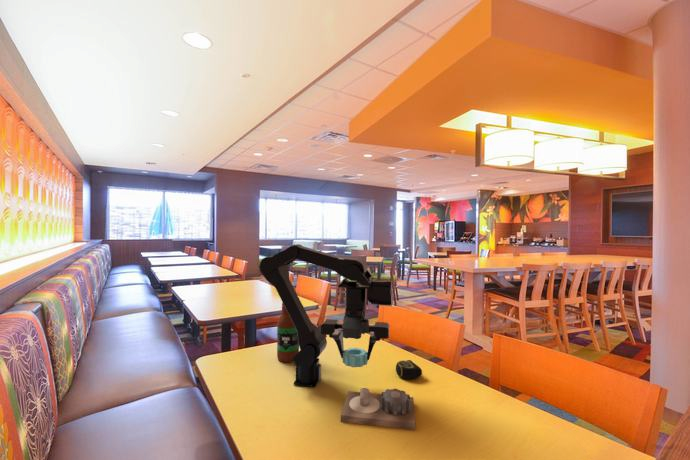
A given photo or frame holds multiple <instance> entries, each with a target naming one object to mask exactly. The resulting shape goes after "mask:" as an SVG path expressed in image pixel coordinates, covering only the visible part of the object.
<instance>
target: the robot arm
mask: <svg viewBox="0 0 690 460" xmlns="http://www.w3.org/2000/svg"><path fill="white" fill-rule="evenodd" d="M296 260H299V261H302V262H305V263H309V264H312V265H315V266H319V267H321V268H325V269H327V270H331V271H333V272H335V273H337V274H338V275H339V276H341V277H343V280H342V281H341V282H340V283H339V284H338V285H337V287H338V288H340V289H341V288H345V299H344V300H345V304H344V305H345V310H344V313H345V314H344V315H343V316H344V317H343V320H342V321H343V322H342V323H339V320H338V319H335V318H334V319H331V318H327V319H325V320H323V323H322V324H318V326H316V325H315V323H313V322H312V321H311V319H310V316H309V315H308V313H307V311H306V309H305V307H304V305H303V304H302V301H301V300H300V297H299V296H298V294H297V291H296V289H295V288H294V285H293V284H292V282H291V280H290V269H289V267H288V266H289V265H290V264H292V263H293V262H295V261H296ZM258 269H259V272H260V274H261V275H262V276H263V278H264V279H265V281H267V283H269V284H270V285H271V286H273V287H274V288H275V291H276V292H277V293H278V296H279V298H280V300H281V303H282V302H283V304H284V306H285V308H286V310H287V312H288V314H289V316H290V318H291V320H292V322H293V324H294V326H295V328H296V330H297V333H298V344H299V352H298V353H297V354H296V355H295V356H294V357H293V364H294V366H295V380H294V382H293V386H301V387H309V388H310V387H311V388H315V387H317V385H318V383H319V382H320V380H321V379H322V364H321V363H320V358H319V357H320V355H321V354H322V353H323V352H324V350H325V349H326V348H327V344H328V341H327V338H328V337H329V338H330V339H332V340H334V341H335V343H336V345H337V347H336V348H337V349H338V352H339V355H340V358H341V359H343V353H344V350H345V349H344V348H345V347H344V339H355V340H359V339H361V337H362V335H365V334H370V335H369V339H368V347H367V352H368V354H367V360H368V361H369V360H370V358H371V356H372V355H371V354H372V352H373V349H374V347H375V344H376V343H377V342H380V341H381V339H383V340H384V339H389V338H390V337H389V336H390V324H389V323H388V322H387V321H386V322H382V321H375V322H374V325H370V320H369V319H368V318H367V316H366V315H367V306H366V305H367V304H366V303H367V301H368V303H370V304H371V305H372V306H386V307H387V306H388V307H392V306H393V303H394V301H393V300H394V291H393V284H392V283H393V280H391V279H390V280H389V279H388V280H375V278H374V276H373V275H372V274H371V273H370V271H369V270H368V264H367V262H366V261H365V259H364V258H361V257H354V256H353V257H352V256H339V255H335V254H332V253H327V252H324V251H321V250H316V249H315V248H310V247H307V246H304V245H302V244H298V243H297V244H291V245H290V246H289V247H286V248H285V249H284V250H281V251H280V252H277V253H276V254H274V255H270V256H266V257H263V258H262V259H261V261H260V263H259V265H258ZM292 285H293V286H292Z"/></svg>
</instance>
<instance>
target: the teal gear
mask: <svg viewBox="0 0 690 460" xmlns="http://www.w3.org/2000/svg"><path fill="white" fill-rule="evenodd" d="M367 354H368V350H367V351H366V350H365V349H363V348H359V347H349V348H347V349H344V353H343V358H342V363H343V364H344V365H345V366H347V367H351V368H362V367H364V366H367V365H368V362H369V360H367Z"/></svg>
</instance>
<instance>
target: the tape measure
mask: <svg viewBox="0 0 690 460" xmlns="http://www.w3.org/2000/svg"><path fill="white" fill-rule="evenodd" d="M395 373H396V375H397V376H399V377H400V378H403V379H406V380H407V379H408V380H413V379H416V378H419V377H421V376H422V375H423V370H422V368H421V367H420V366H419V365H417V364H416V363H415V362H413V361H412V360H411V359H408V360H404V359H403V360H399V361H397V363H396V365H395Z"/></svg>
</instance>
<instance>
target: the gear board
mask: <svg viewBox="0 0 690 460" xmlns="http://www.w3.org/2000/svg"><path fill="white" fill-rule="evenodd" d="M346 393H347V394H346V397H345V400H344V403H343V406H342V409H341V413H340V422H341V423H342V422H343V423H351V424H361V425H368V426H377V427H385V428H394V429H401V430H402V429H403V430H413V431H416V416H415V405H414V404H415V403H414V397H412V396H410V394H409V393H406V391H405V390H402V389H401V390H400V389H398V388H392V389H390V388H387V389H385V391H381V393H373V392H370V389H369V388H368V387H362V388H360V391H353V390H349V391H347V392H346Z"/></svg>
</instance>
